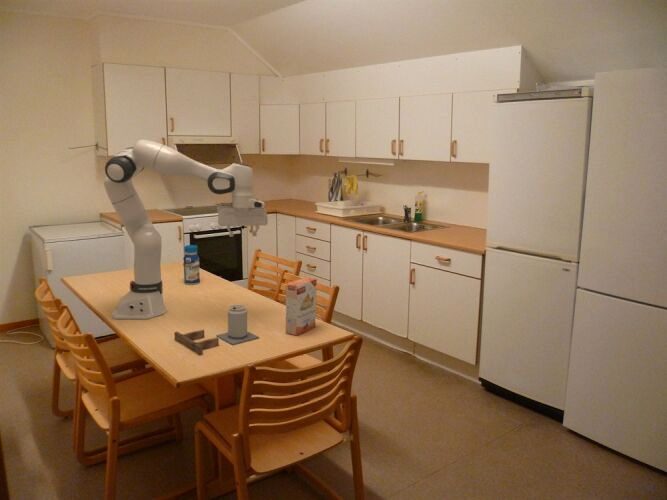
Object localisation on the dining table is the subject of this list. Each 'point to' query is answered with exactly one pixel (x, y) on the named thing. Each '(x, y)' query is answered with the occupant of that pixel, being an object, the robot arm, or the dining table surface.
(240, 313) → the can
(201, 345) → the walnut cradle
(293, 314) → the cracker box
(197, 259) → the beverage bottle
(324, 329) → the dining table surface
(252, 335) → the slate mat
